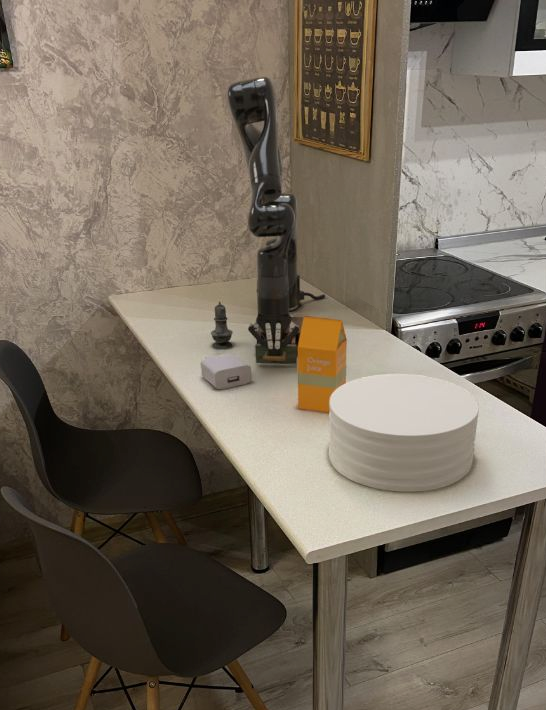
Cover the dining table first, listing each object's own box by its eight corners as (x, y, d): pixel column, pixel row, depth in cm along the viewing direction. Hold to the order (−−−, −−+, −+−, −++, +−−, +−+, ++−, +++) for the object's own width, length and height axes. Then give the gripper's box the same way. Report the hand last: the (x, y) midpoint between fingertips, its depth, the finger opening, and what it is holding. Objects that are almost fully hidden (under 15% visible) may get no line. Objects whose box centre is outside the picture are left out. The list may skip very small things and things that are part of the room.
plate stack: (405, 509, 131) (410, 451, 126) (299, 453, 150) (299, 400, 144) (501, 457, 147) (509, 403, 141) (395, 412, 165) (398, 363, 160)
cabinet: (300, 356, 195) (300, 332, 192) (257, 355, 196) (256, 331, 193) (303, 339, 206) (303, 316, 203) (262, 339, 207) (261, 316, 204)
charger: (226, 362, 192) (251, 382, 181) (192, 369, 188) (216, 390, 177) (225, 345, 190) (250, 364, 178) (191, 351, 186) (214, 371, 174)
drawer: (295, 371, 184) (294, 352, 182) (253, 370, 185) (252, 352, 183) (299, 347, 198) (299, 330, 196) (260, 347, 199) (260, 330, 197)
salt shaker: (232, 349, 200) (229, 304, 194) (210, 349, 201) (207, 305, 194) (234, 341, 205) (231, 298, 199) (212, 341, 206) (209, 298, 200)
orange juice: (335, 414, 165) (336, 325, 155) (297, 408, 168) (296, 321, 158) (345, 399, 171) (347, 314, 161) (309, 394, 174) (308, 310, 164)
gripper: (302, 288, 180) (302, 357, 189) (247, 288, 181) (250, 356, 190) (300, 297, 174) (300, 368, 182) (243, 297, 174) (246, 367, 183)
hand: (274, 362), depth 186 cm, fingers closed
